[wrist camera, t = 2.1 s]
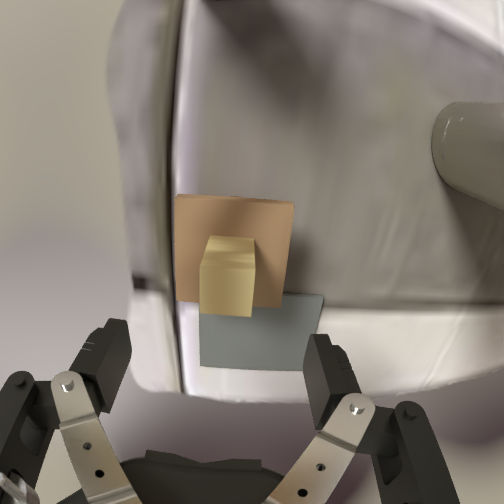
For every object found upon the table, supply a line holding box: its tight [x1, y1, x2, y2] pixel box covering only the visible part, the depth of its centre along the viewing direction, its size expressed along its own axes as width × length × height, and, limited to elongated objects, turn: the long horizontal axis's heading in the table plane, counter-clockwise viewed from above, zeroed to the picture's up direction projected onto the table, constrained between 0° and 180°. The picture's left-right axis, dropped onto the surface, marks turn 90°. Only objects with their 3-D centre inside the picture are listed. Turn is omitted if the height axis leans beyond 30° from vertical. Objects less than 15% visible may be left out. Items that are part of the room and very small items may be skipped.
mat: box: [199, 293, 324, 371], centre depth 31 cm, size 12×10×1 cm
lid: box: [175, 194, 294, 317], centre depth 20 cm, size 8×8×6 cm
